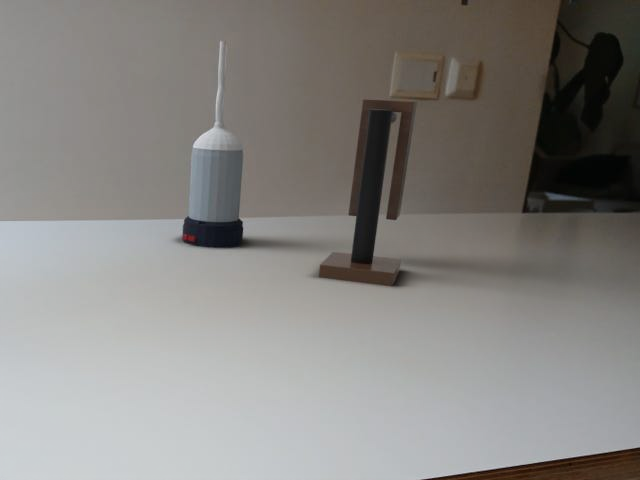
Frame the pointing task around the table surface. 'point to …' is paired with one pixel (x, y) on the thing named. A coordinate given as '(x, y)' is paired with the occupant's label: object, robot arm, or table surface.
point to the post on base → (367, 214)
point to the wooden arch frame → (400, 155)
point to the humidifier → (215, 181)
